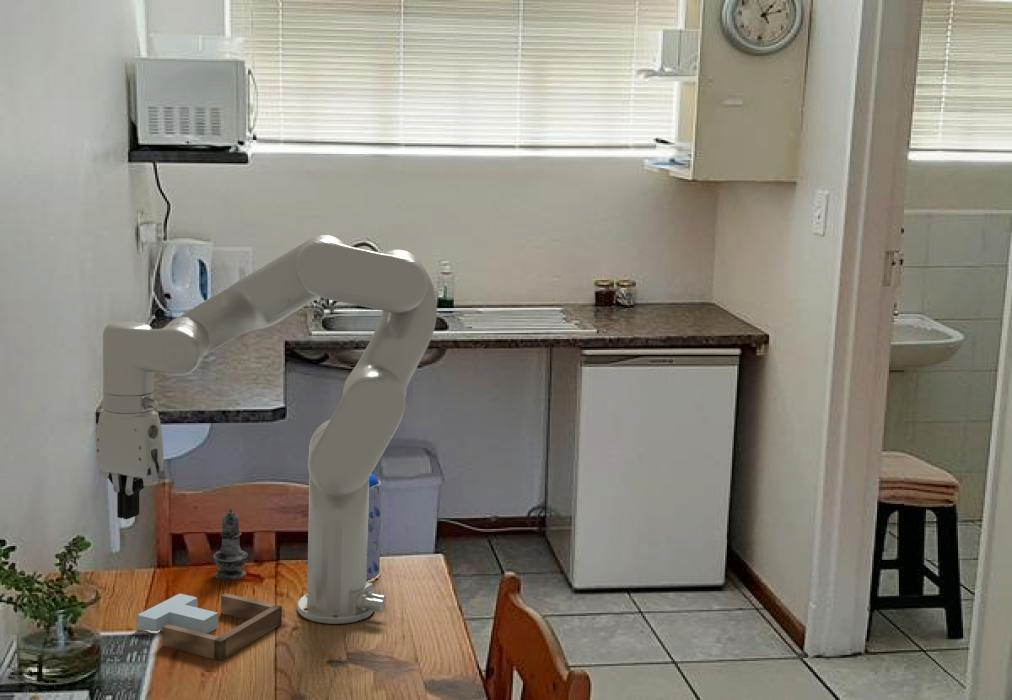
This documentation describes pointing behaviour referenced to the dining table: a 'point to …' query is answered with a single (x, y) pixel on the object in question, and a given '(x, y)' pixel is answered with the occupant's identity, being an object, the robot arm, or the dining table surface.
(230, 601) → the corral
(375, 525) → the aerosol can
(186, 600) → the t block
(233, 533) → the grey stone statue
